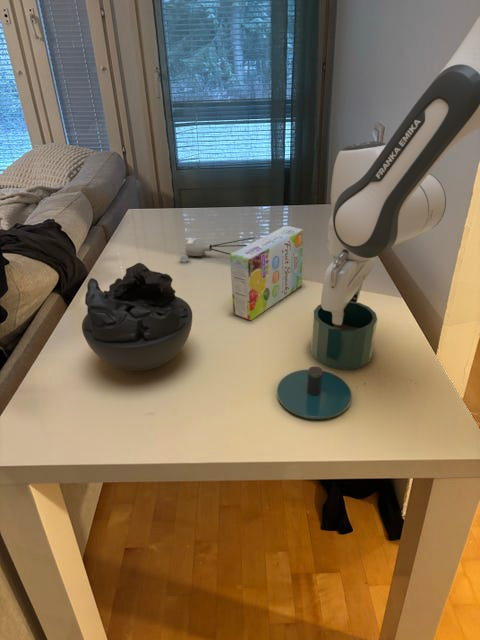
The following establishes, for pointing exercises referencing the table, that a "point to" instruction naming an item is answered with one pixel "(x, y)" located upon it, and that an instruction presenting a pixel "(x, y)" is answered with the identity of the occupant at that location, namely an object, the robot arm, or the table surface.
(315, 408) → the lid
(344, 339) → the pot
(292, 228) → the snack box
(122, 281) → the bowl of black rocks
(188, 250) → the reed diffuser
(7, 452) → the table surface
